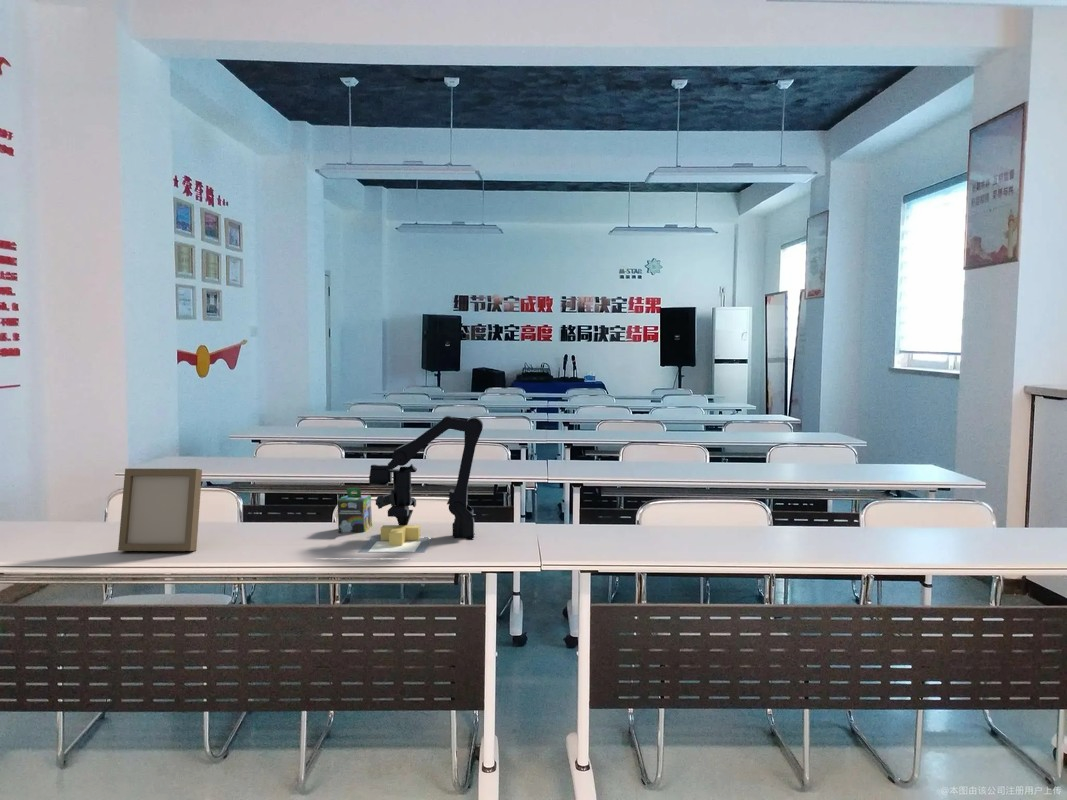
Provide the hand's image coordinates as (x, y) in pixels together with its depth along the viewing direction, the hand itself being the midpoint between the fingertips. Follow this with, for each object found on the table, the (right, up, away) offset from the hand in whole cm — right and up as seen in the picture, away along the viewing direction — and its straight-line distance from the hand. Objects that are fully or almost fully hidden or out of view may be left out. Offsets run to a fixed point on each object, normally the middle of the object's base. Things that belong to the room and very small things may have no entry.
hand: (402, 533), depth 265 cm
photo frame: (-71, -3, -14) cm, 72 cm away
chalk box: (-18, -1, +11) cm, 21 cm away
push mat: (0, -2, -11) cm, 11 cm away
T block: (0, -1, -7) cm, 7 cm away
